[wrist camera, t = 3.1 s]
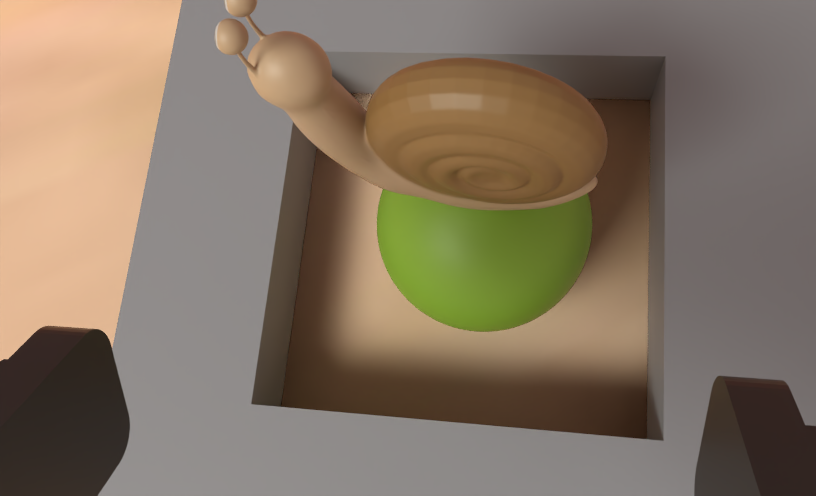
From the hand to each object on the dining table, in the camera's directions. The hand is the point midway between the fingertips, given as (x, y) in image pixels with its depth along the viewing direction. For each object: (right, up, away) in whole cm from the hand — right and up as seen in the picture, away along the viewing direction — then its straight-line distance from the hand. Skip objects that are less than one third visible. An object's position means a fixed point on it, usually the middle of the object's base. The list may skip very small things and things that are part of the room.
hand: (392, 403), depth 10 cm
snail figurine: (+2, +2, +12) cm, 13 cm away
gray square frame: (+2, +2, +12) cm, 13 cm away
